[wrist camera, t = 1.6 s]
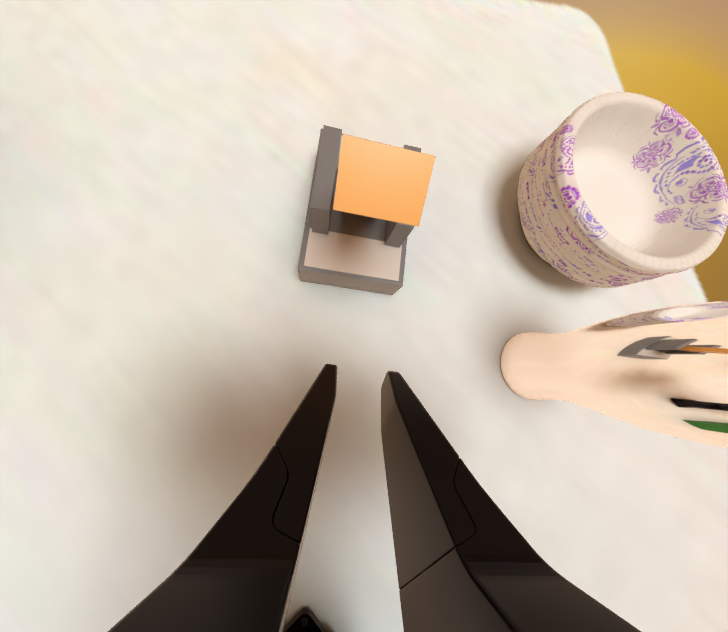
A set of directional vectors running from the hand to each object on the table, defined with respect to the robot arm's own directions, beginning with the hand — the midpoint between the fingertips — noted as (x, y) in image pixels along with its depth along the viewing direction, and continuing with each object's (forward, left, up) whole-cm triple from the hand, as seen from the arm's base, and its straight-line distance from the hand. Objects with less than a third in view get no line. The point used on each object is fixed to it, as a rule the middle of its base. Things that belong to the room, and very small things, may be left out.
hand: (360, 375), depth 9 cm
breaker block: (+9, +9, -13) cm, 18 cm away
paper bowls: (+27, -3, -13) cm, 30 cm away
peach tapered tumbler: (+14, -11, -13) cm, 22 cm away
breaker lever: (+9, +9, -9) cm, 15 cm away
